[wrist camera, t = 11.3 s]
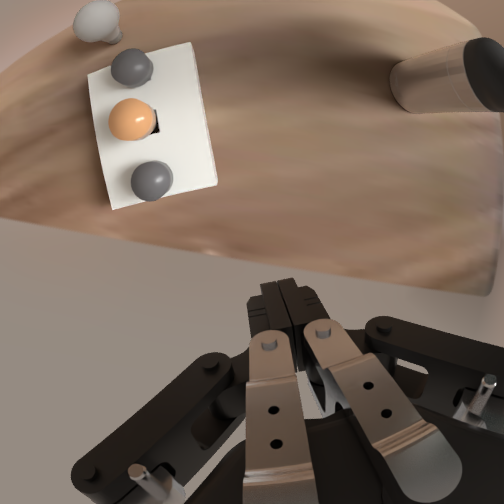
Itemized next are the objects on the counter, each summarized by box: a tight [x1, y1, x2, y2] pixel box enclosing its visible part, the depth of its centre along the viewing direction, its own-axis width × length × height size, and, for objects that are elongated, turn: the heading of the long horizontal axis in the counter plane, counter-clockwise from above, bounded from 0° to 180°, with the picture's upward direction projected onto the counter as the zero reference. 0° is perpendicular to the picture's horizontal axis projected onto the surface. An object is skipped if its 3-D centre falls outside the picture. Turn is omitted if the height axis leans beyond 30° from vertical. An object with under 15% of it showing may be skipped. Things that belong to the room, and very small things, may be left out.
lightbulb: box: [73, 0, 122, 44], centre depth 24 cm, size 6×6×11 cm
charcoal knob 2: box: [131, 161, 173, 201], centre depth 34 cm, size 4×4×8 cm
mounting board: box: [88, 42, 218, 210], centre depth 33 cm, size 14×19×5 cm
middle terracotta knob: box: [108, 98, 157, 141], centre depth 28 cm, size 4×4×8 cm
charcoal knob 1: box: [111, 49, 153, 88], centre depth 29 cm, size 4×4×8 cm
